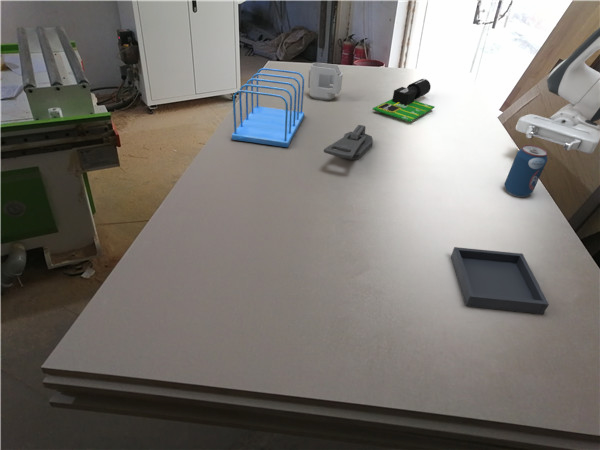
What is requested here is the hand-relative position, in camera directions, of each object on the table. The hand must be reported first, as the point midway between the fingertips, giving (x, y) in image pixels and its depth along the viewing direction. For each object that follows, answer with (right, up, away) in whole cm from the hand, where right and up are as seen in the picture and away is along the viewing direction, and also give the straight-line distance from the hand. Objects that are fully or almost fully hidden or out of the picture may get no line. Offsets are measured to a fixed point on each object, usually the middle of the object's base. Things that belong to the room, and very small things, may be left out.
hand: (547, 141), depth 106 cm
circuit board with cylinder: (-24, +21, +44) cm, 55 cm away
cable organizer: (-56, +26, +48) cm, 78 cm away
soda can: (-9, -14, -1) cm, 16 cm away
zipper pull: (-51, -2, +11) cm, 52 cm away
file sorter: (-75, +9, +24) cm, 79 cm away
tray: (-28, -33, -29) cm, 52 cm away
